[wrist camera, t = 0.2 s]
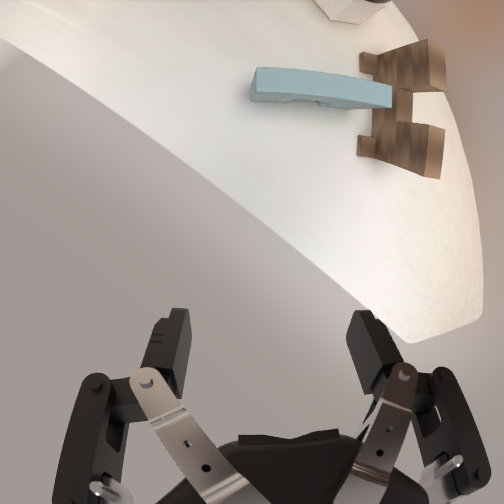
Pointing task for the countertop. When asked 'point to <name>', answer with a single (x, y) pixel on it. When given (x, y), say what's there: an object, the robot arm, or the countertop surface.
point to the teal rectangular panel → (318, 89)
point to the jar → (351, 9)
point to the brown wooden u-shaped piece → (406, 108)
